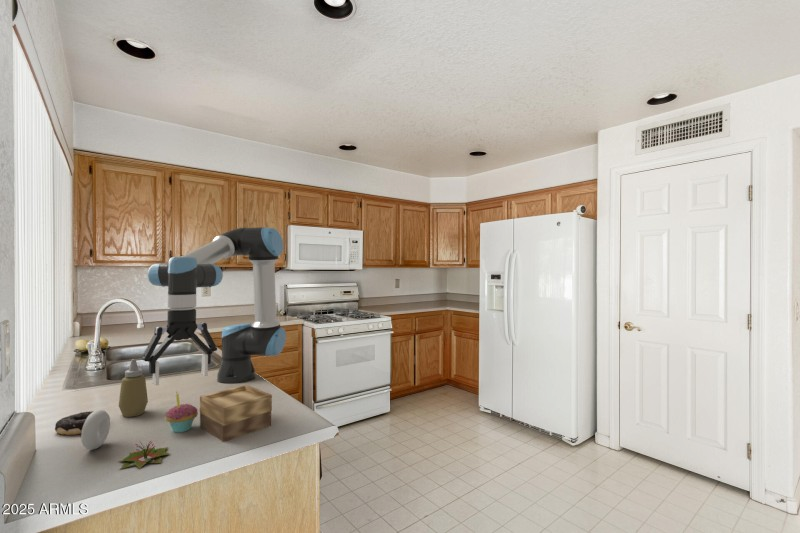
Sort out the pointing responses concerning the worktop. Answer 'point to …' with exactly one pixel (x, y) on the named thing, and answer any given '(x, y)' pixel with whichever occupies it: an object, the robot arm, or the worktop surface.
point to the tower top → (235, 404)
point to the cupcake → (181, 416)
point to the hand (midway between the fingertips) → (181, 379)
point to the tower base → (235, 426)
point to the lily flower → (144, 453)
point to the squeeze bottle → (133, 392)
